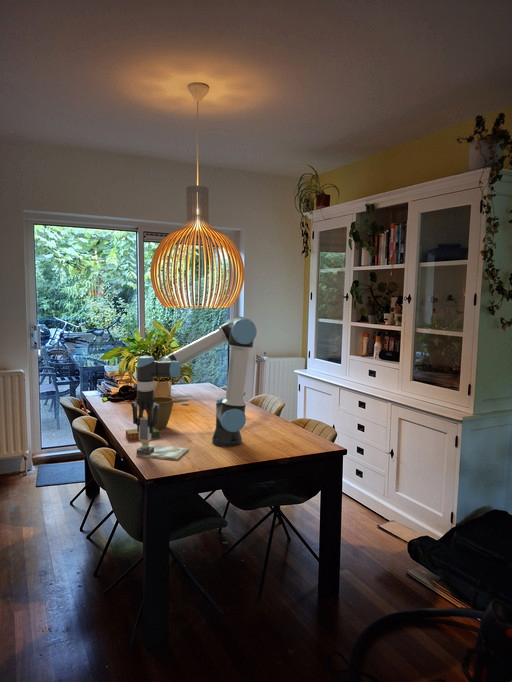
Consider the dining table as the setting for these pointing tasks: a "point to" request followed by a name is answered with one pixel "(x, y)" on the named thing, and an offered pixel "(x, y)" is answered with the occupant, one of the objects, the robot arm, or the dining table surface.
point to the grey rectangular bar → (144, 429)
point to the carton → (134, 435)
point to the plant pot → (163, 411)
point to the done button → (145, 446)
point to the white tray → (162, 452)
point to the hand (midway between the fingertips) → (145, 439)
